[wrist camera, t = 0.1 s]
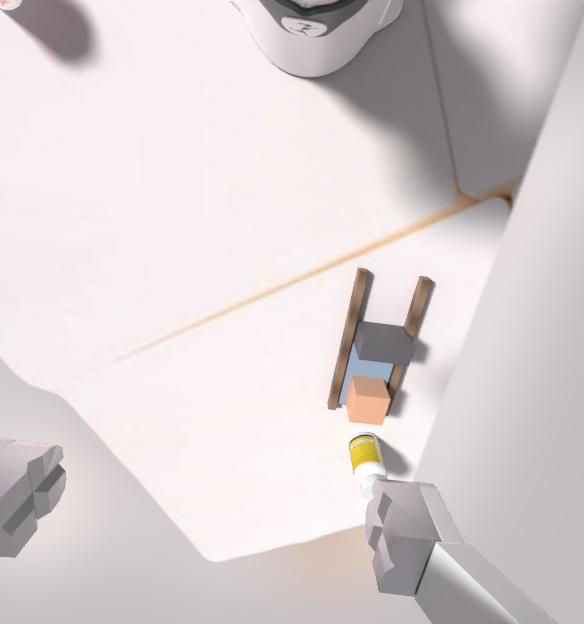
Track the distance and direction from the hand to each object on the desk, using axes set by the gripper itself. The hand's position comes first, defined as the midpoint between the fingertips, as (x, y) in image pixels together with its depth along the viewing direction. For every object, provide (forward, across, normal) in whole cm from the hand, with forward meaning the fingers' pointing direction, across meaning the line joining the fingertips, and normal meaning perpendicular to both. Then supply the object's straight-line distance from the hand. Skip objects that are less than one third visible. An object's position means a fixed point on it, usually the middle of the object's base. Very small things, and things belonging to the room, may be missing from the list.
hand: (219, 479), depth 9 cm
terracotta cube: (+40, -16, +20) cm, 47 cm away
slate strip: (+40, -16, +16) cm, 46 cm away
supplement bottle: (+42, -19, +33) cm, 57 cm away
